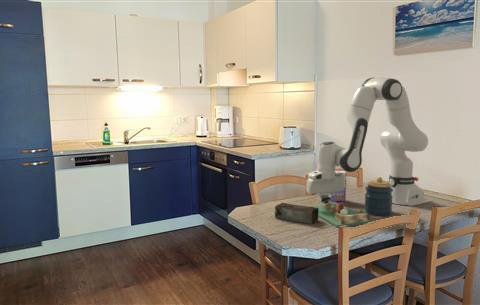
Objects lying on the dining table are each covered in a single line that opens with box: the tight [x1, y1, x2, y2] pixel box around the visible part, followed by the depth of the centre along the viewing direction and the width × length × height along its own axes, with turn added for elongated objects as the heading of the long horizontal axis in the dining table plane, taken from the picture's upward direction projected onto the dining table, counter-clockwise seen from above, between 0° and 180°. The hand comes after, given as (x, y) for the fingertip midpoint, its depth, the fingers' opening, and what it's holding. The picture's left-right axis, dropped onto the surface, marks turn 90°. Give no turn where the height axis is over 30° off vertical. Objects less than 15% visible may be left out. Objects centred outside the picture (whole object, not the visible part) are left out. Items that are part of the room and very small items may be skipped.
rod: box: [321, 195, 345, 214], centre depth 197 cm, size 17×3×5 cm, turn 18°
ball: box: [340, 209, 348, 216], centre depth 187 cm, size 4×4×4 cm
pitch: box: [309, 203, 376, 228], centre depth 191 cm, size 20×30×3 cm, turn 18°
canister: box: [363, 176, 393, 217], centre depth 196 cm, size 13×13×18 cm
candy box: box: [322, 170, 347, 203], centre depth 218 cm, size 14×6×16 cm, turn 80°
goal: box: [335, 209, 370, 224], centre depth 181 cm, size 14×6×4 cm, turn 108°
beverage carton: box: [274, 202, 319, 225], centre depth 186 cm, size 8×19×7 cm, turn 58°
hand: (325, 200), depth 202 cm, fingers closed on rod, 3 cm apart
